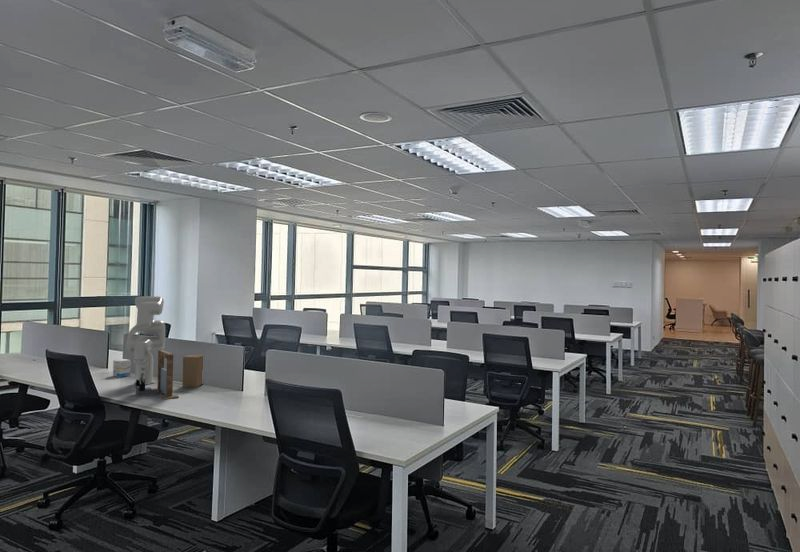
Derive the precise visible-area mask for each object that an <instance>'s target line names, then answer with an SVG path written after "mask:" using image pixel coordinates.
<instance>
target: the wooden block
mask: <svg viewBox="0 0 800 552" xmlns="http://www.w3.org/2000/svg"><path fill="white" fill-rule="evenodd" d="M203 355H204V354H188V355H184V356H183V357H182V388H199V387H201V386H202V385H201V384H202V370H203ZM200 385H201V386H200Z"/></svg>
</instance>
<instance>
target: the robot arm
mask: <svg viewBox="0 0 800 552" xmlns="http://www.w3.org/2000/svg"><path fill="white" fill-rule="evenodd" d="M164 303H165V301H164V298H163V297H162V296H151V295H149V296H148V295H147V296H137V297H135V299H134V304H135V307H136V309H137V311H136V313H137V314H136V324H134V326H133V327H131V328H130V330H129V332H128V334H127V341H126V342H127V343H126V348H127V349H126V350H127V351H128V352H134V354H133V356H134V357H133V359H134V360H133V365H135V370H134V371H135V372H134V373H135V374H134V377H135V381H134V384H135V387H136V386H139V391H145V388H146V385H152V384H155V383H156V380H155V379H154V355H153V354H152V352H151V351H158V350H164V349H165V347H166V323H165V322H164V320H155V319H154V316H156V315H157V316H160V315H161V314H162V313H163V310H164V309H163V308H164ZM138 332H139V333H140V334H142V335H147V336H140V337H138V338H136V339H135V338H133V337H134V336H135V335H136V334H137V333H138ZM148 335H149V336H148ZM152 335H153V336H152Z"/></svg>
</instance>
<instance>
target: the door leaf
mask: <svg viewBox="0 0 800 552" xmlns="http://www.w3.org/2000/svg"><path fill="white" fill-rule="evenodd" d="M166 378H167V368H165V367H164V368H161V378H160V391H159V392H161V393H162V394H164V395H166Z"/></svg>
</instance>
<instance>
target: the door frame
mask: <svg viewBox="0 0 800 552" xmlns="http://www.w3.org/2000/svg"><path fill="white" fill-rule="evenodd" d="M165 359H166V370H167V378H166V395H165V394H164V395H161V398H162V399H163V400H172V398H173V399H179V398H180V397H179V395H177V394H176V393H174V394H173V392H174V391H173V388H174V386H173V385H174V354H173V352H169V351H167V350H164V349H162V350H157V385H156V386H157V387H156V388H155V387H154V388H153V387H152V388H151V389H157V390H158V391H159V392H161V391H160V378H161V368H164V369H165Z"/></svg>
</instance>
